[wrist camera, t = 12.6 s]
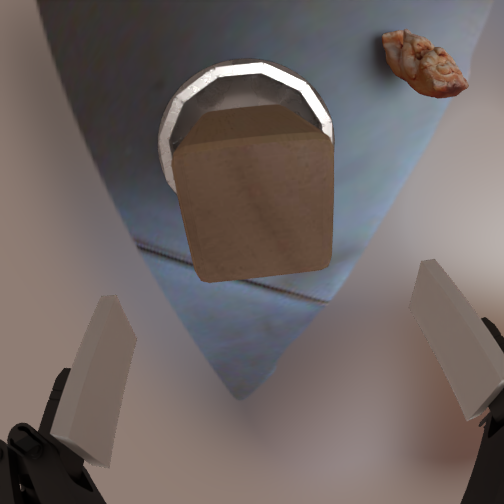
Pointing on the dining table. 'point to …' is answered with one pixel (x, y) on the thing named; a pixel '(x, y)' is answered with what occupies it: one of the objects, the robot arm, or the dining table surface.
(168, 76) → the dining table surface
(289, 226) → the block
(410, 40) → the figurine
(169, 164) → the metallic bowl
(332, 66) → the dining table surface
